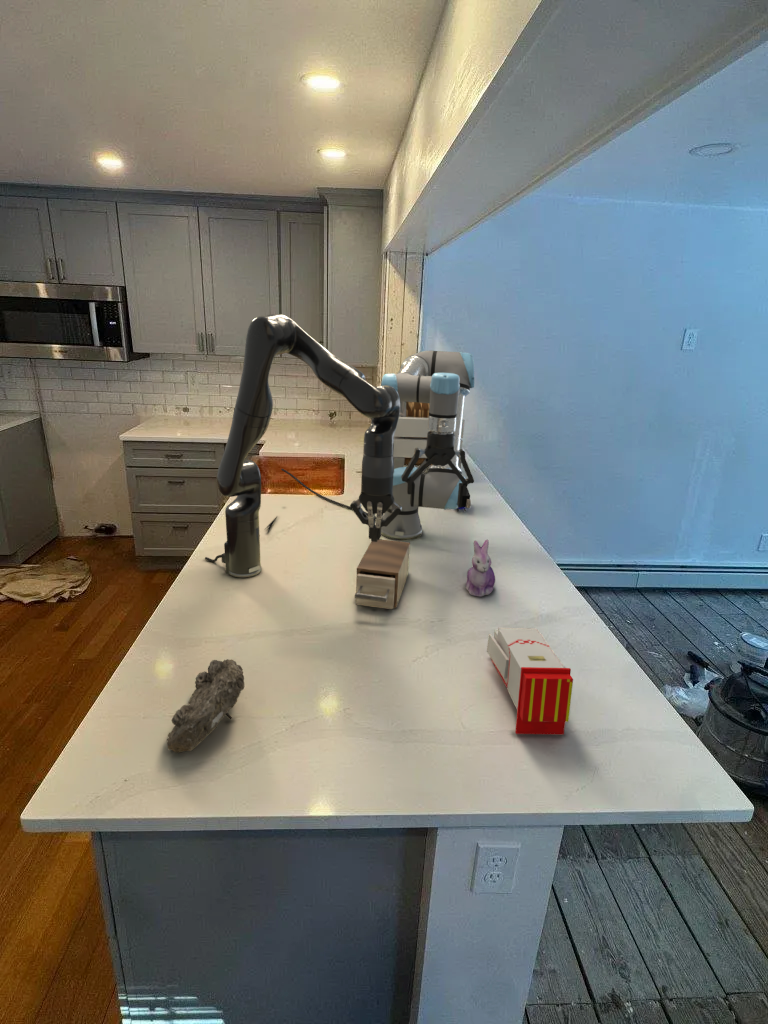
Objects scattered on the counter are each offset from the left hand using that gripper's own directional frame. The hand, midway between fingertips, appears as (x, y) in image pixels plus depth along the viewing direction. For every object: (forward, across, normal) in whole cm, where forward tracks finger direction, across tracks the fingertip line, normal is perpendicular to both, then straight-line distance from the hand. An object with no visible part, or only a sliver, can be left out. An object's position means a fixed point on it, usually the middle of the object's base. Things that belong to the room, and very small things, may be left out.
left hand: (374, 540), depth 139 cm
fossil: (+21, -22, -45) cm, 54 cm away
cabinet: (+21, 0, +16) cm, 26 cm away
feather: (+21, -48, +58) cm, 78 cm away
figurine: (+21, +27, +22) cm, 41 cm away
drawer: (+20, 0, +10) cm, 22 cm away
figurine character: (+21, +17, +93) cm, 96 cm away
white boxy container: (+21, -6, +138) cm, 140 cm away
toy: (+21, +37, -22) cm, 48 cm away
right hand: (-2, +12, +26) cm, 29 cm away
